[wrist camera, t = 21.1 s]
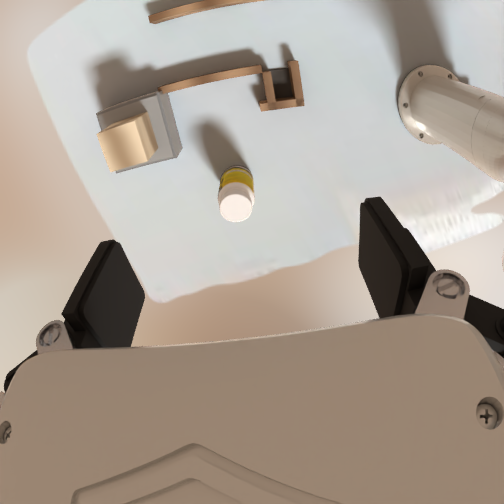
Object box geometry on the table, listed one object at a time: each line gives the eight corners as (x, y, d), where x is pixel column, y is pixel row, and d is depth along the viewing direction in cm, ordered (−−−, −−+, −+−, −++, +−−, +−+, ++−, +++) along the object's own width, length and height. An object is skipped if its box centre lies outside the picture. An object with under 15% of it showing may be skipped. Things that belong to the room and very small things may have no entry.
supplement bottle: (218, 167, 43) (212, 193, 36) (251, 163, 42) (252, 188, 36) (223, 197, 46) (220, 227, 39) (255, 193, 45) (257, 222, 39)
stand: (166, 88, 35) (158, 92, 32) (182, 148, 41) (176, 158, 37) (107, 107, 36) (95, 113, 33) (125, 162, 41) (115, 174, 38)
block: (147, 111, 33) (134, 120, 29) (158, 147, 36) (147, 161, 32) (112, 123, 34) (96, 134, 30) (124, 157, 37) (110, 172, 33)
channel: (282, -8, 28) (284, -12, 26) (301, 102, 37) (304, 105, 35) (146, 20, 29) (140, 18, 27) (172, 126, 39) (168, 130, 37)
